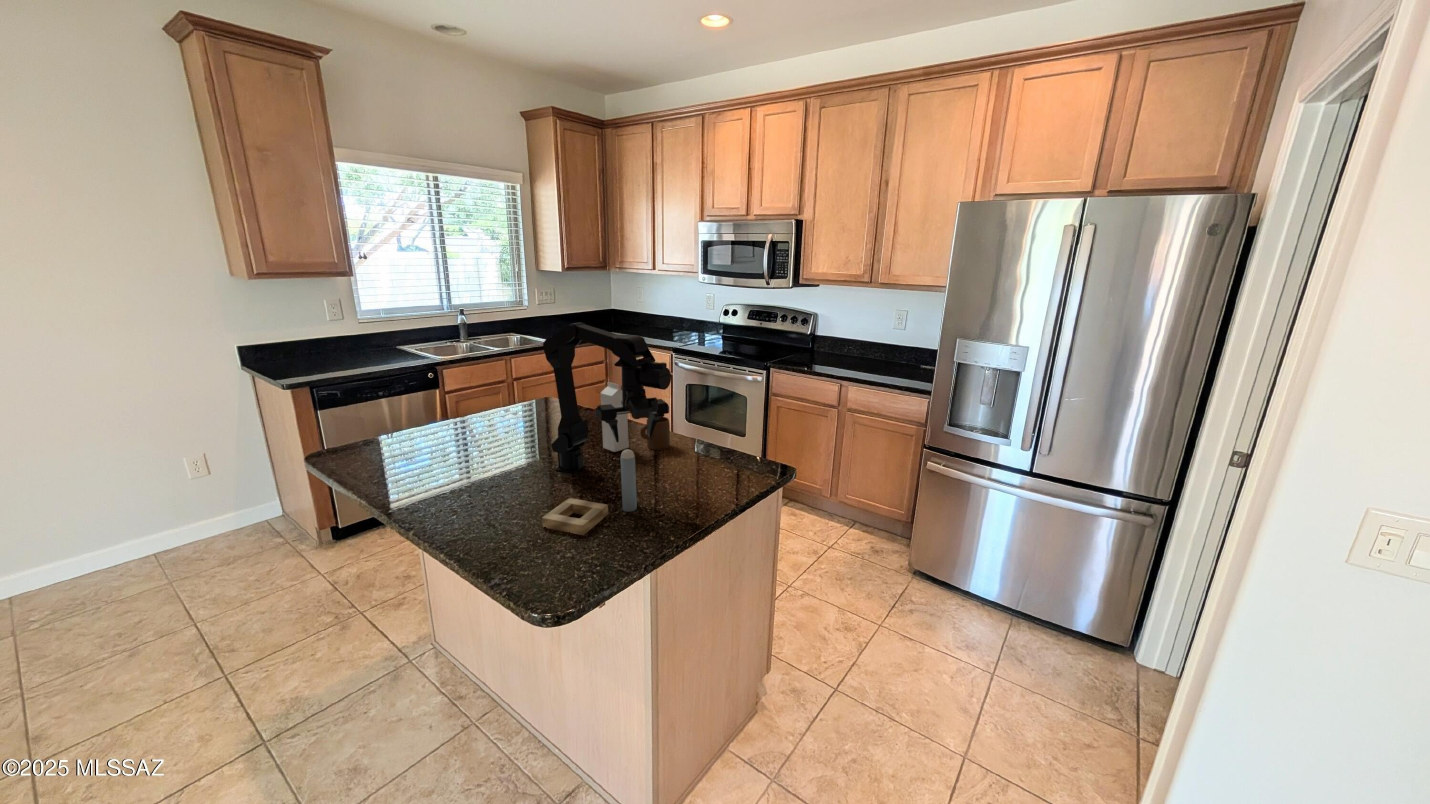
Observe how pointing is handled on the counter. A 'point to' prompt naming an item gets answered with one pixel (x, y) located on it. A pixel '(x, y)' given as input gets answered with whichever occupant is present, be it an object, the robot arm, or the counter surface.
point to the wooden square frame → (581, 526)
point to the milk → (614, 398)
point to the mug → (658, 434)
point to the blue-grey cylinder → (628, 480)
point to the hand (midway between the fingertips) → (633, 439)
